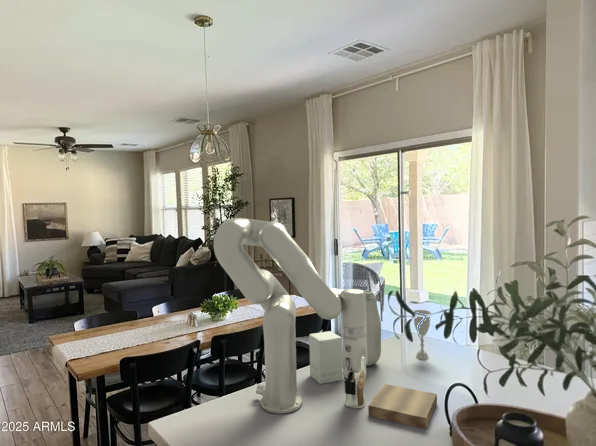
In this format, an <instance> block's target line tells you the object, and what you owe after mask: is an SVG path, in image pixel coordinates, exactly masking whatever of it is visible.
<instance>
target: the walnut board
mask: <svg viewBox="0 0 596 446" xmlns="http://www.w3.org/2000/svg"><path fill="white" fill-rule="evenodd" d="M436 404H437V405H438V394H437V393H434V392H428V391H424V390H419V389H418V390H417V389H413V388H408V387H402V386H397V385H392V384H387V383H385V384H384V385H382V387H381V389H379V391H378V392H377V393H376V394H375V396H374V397H373V399H372V400H371V401H370V403H369V404H368V406H367V407H368V416H369V417H372V418H377V419H380V420H385V421H389V422H394V423H398V424H402V425H406V426H410V427H411V426H412V427H414V428H420V429H424V430H427V428H428V426H429V423H430V421H431V418H432V416H433V414H434V411H435V410H436V406H437V405H436Z"/></svg>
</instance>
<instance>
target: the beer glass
mask: <svg viewBox="0 0 596 446" xmlns="http://www.w3.org/2000/svg"><path fill="white" fill-rule="evenodd" d="M349 370H352V367H351V365H350V368H349ZM352 371H353V370H352ZM349 375H351V377H352V373H351V372H349ZM366 376H367V366H366V360H365V355H364V357H363V358H361V371H360V372H358V373H356V372H355V379H354V381H356V394H355V395H350V394H346V393H345V399H344V405H345V406H346V407H348V408H350V409H362V408H364V407H365V405H366V399H365V395H364V393H365V385H366ZM343 382H344V383H345V381H344V380H343Z"/></svg>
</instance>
